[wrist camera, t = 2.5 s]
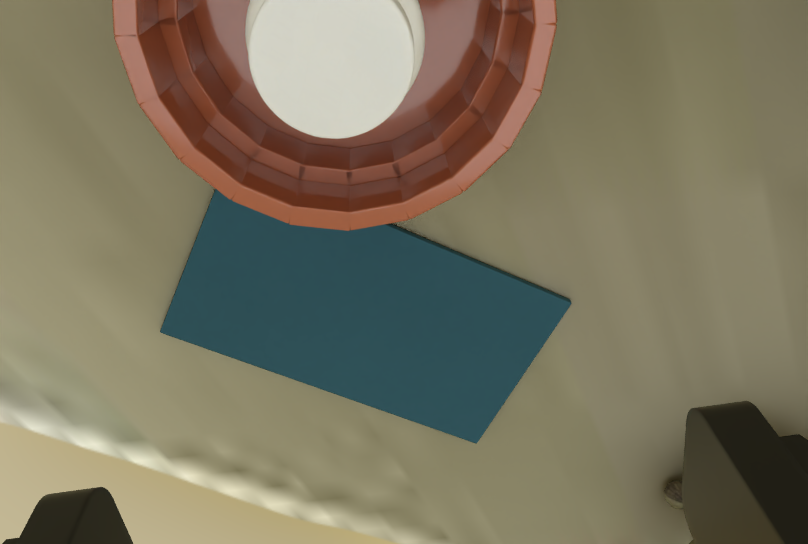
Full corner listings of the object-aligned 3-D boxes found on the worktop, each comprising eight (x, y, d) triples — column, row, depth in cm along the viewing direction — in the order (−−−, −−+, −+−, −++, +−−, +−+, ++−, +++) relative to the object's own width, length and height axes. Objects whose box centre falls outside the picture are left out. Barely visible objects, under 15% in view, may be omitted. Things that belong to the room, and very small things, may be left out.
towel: (161, 328, 36) (159, 332, 36) (229, 154, 32) (227, 158, 32) (475, 439, 41) (476, 444, 40) (570, 299, 36) (572, 303, 36)
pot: (114, 89, 30) (62, 132, 25) (231, -299, 25) (195, -349, 19) (422, 221, 34) (433, 283, 29) (590, -90, 28) (642, -84, 23)
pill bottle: (247, -45, 28) (192, -12, 19) (387, -96, 27) (397, -86, 18) (302, 96, 30) (277, 181, 22) (431, 52, 30) (459, 122, 21)
